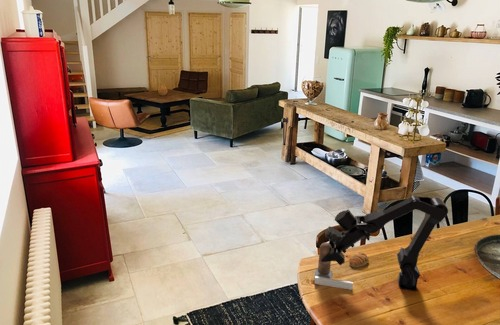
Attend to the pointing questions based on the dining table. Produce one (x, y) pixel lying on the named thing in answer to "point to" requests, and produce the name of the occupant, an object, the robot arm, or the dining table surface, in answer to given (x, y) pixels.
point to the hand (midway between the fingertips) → (321, 257)
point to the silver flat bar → (333, 282)
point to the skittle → (324, 249)
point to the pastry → (359, 260)
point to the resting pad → (323, 275)
